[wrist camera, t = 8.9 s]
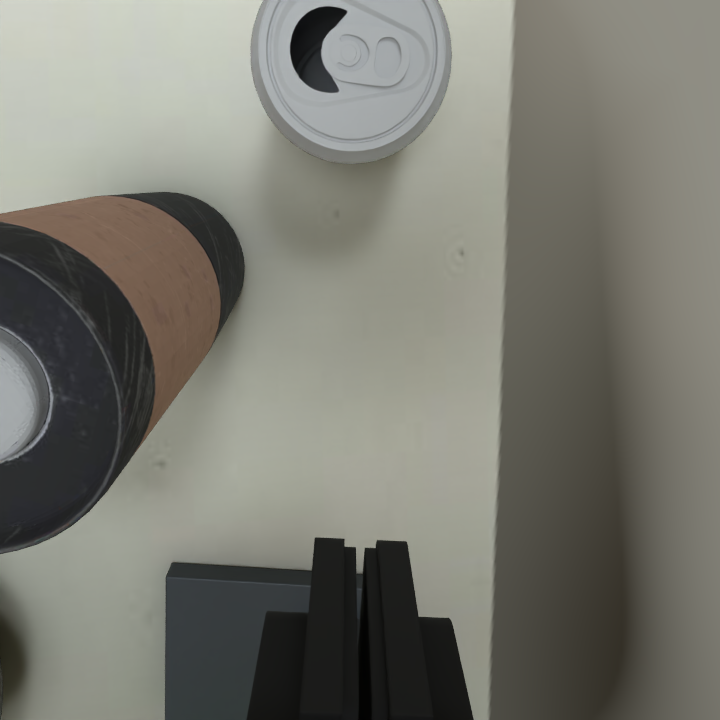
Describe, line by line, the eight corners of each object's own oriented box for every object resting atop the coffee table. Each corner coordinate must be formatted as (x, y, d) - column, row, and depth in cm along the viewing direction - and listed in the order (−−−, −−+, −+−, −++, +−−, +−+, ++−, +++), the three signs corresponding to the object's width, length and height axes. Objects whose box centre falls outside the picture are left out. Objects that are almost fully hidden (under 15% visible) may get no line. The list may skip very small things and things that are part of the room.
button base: (397, 575, 39) (401, 608, 36) (380, 713, 42) (383, 754, 39) (171, 562, 38) (157, 594, 35) (170, 703, 41) (157, 743, 38)
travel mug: (211, 161, 32) (18, 166, 13) (274, 306, 34) (189, 495, 15) (68, 220, 33) (-317, 309, 14) (139, 360, 35) (-107, 606, 16)
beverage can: (285, 6, 30) (251, -86, 19) (425, 26, 31) (475, -53, 19) (273, 153, 32) (235, 150, 21) (406, 169, 32) (440, 176, 21)
